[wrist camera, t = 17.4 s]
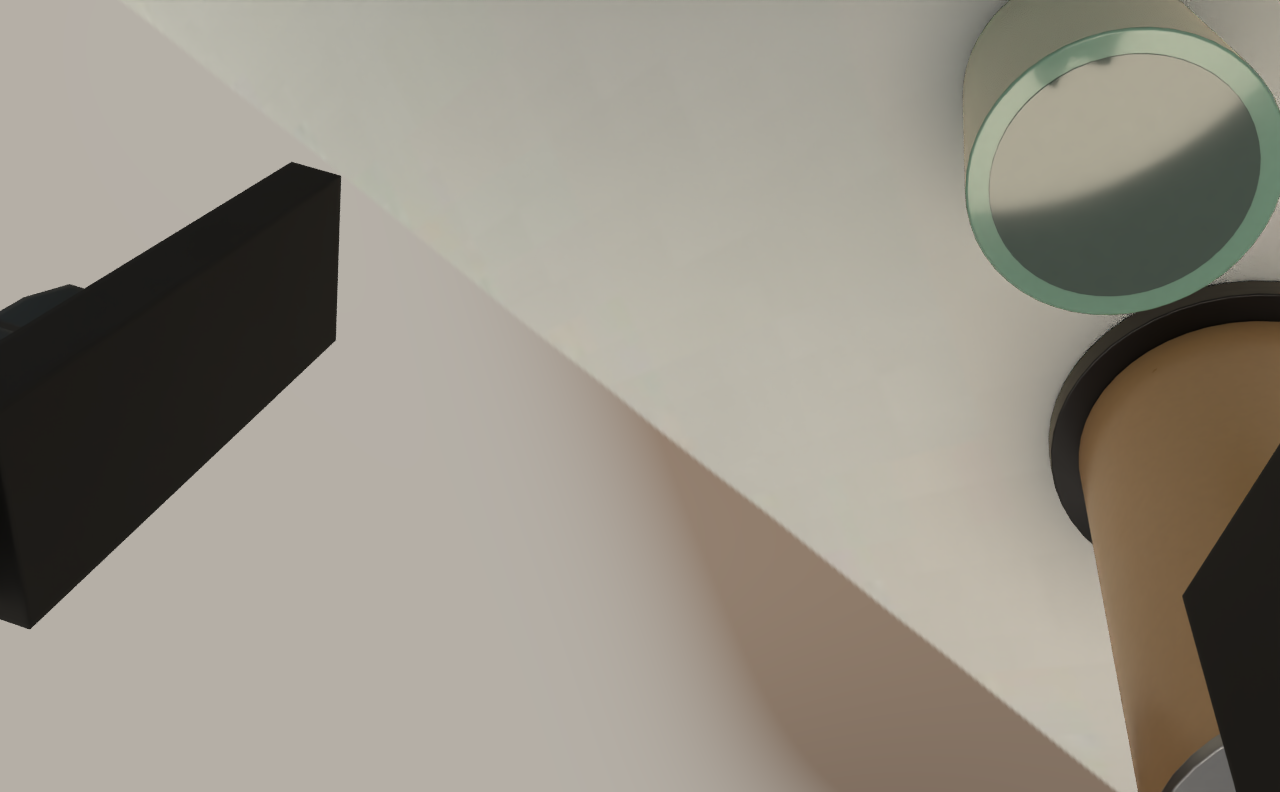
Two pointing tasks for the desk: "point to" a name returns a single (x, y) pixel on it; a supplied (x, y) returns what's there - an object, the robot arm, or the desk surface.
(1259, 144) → the tumbler
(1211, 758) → the tan and grey cylinder
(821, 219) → the desk surface
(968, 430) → the desk surface
